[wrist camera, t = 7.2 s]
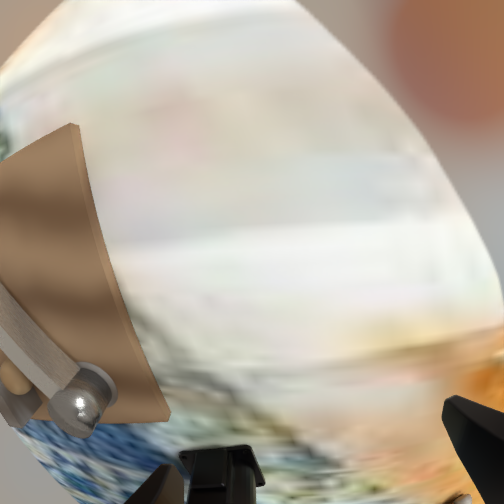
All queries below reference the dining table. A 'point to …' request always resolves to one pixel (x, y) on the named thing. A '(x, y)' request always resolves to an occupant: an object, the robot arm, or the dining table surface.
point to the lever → (52, 371)
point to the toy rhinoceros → (463, 499)
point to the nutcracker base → (67, 282)
